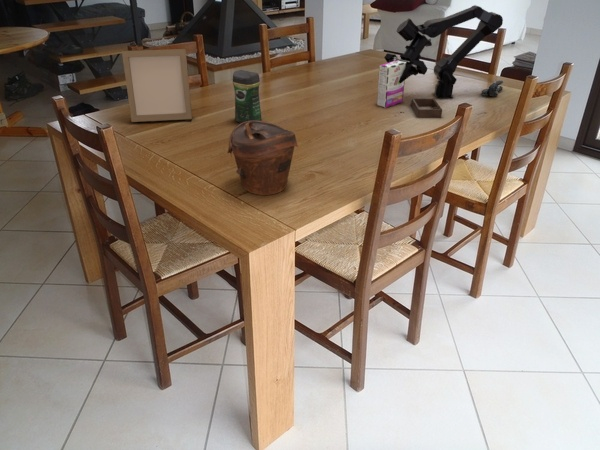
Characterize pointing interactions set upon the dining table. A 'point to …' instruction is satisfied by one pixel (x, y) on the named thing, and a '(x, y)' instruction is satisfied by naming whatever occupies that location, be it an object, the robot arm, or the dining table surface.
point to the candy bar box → (390, 84)
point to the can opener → (493, 89)
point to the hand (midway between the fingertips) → (394, 81)
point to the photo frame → (157, 84)
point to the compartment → (426, 113)
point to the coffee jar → (246, 96)
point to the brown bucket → (262, 155)
